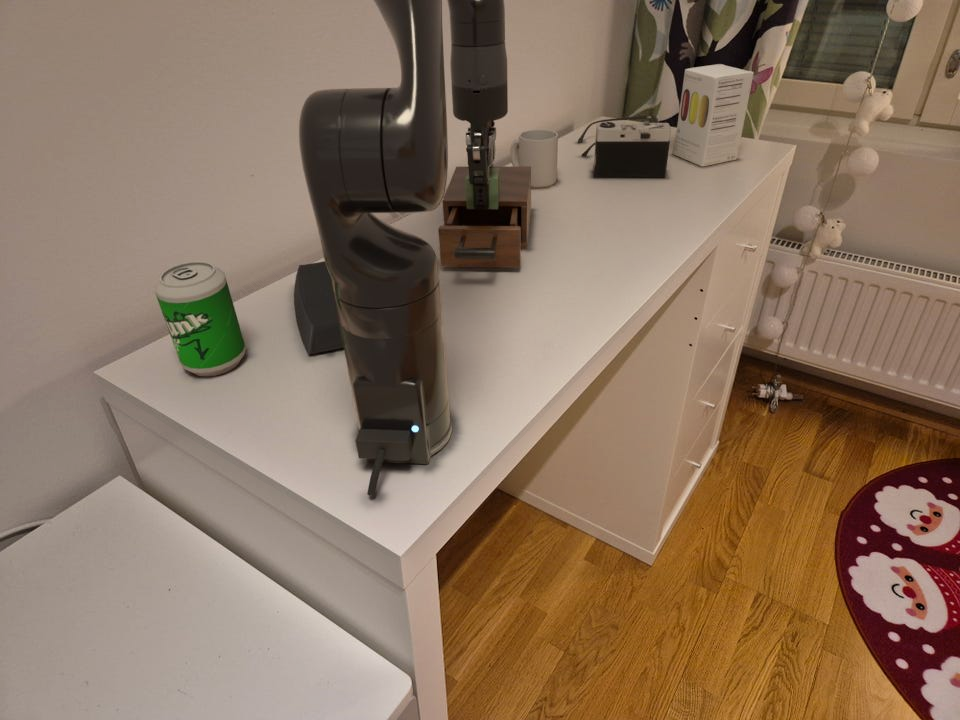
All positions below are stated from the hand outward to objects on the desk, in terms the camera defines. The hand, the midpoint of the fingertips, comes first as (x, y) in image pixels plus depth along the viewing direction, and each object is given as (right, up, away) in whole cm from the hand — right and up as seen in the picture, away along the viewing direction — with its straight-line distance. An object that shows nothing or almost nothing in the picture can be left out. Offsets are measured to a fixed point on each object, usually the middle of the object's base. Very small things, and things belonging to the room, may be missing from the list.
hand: (483, 201), depth 97 cm
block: (0, 0, 0) cm, 0 cm away
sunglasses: (+30, +22, +45) cm, 58 cm away
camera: (+29, +13, +32) cm, 45 cm away
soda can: (-32, -24, -18) cm, 44 cm away
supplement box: (+46, +18, +38) cm, 62 cm away
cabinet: (+1, -2, +12) cm, 12 cm away
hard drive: (-18, -17, -9) cm, 27 cm away
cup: (+10, +11, +30) cm, 34 cm away
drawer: (0, -7, +2) cm, 8 cm away
